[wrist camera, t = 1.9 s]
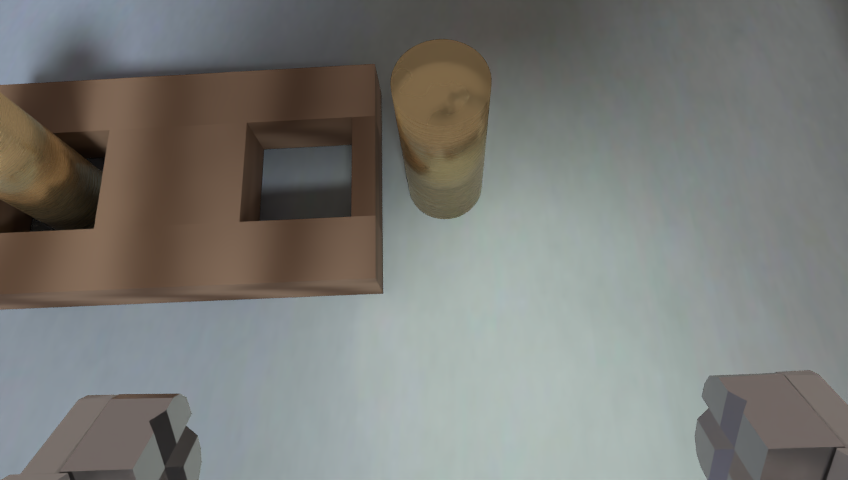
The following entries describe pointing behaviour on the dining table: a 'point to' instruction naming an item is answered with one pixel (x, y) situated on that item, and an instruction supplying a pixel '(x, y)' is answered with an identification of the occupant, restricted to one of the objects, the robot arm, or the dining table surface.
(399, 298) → the dining table surface
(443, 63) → the loose billet
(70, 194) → the seated billet
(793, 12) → the dining table surface
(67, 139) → the wooden socket block
